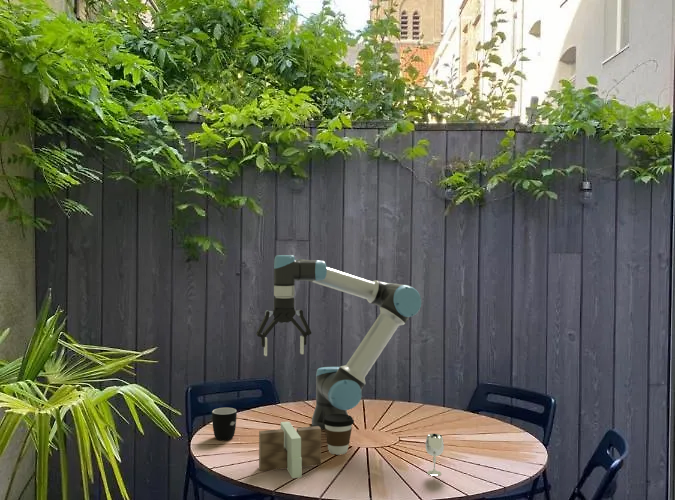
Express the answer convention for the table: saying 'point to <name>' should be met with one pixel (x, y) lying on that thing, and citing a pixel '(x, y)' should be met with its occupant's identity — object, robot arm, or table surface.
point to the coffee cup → (338, 432)
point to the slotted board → (276, 455)
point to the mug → (224, 423)
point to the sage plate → (292, 450)
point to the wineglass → (434, 449)
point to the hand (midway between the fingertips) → (283, 354)
